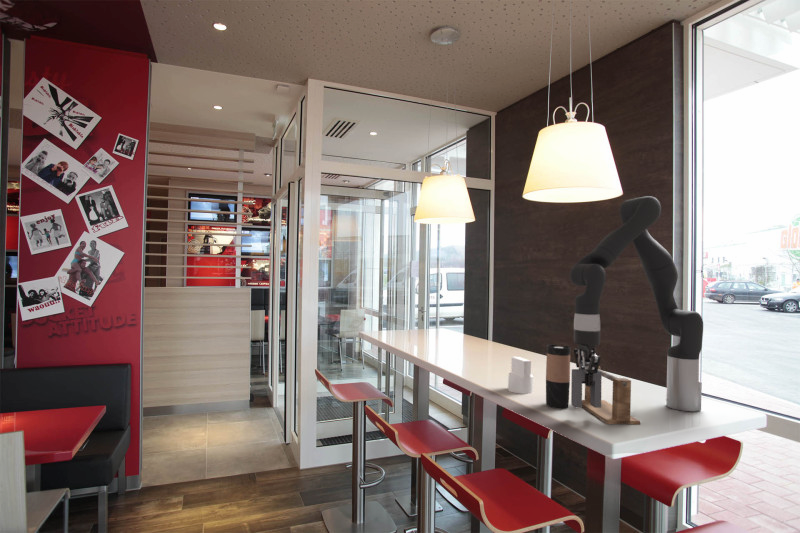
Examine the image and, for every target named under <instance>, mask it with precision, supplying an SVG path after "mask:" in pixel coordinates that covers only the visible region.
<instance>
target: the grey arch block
mask: <svg viewBox="0 0 800 533" xmlns="http://www.w3.org/2000/svg"><path fill="white" fill-rule="evenodd" d="M602 371H603V370H601V371H599V370H598V372H597V373H594V374H593V386H590V405H591V406H593V407H595V408H601V400H602V377H603V376H602ZM582 381H585V369H579V368H572V369H571V381H570V384H571V385H570V386H571V392H570V395H571V398H570V401H571V403H570V405H571V406H572V407H574V409H575V408H577V409H578V408H583V407H582V400H583V384H582Z"/></svg>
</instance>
